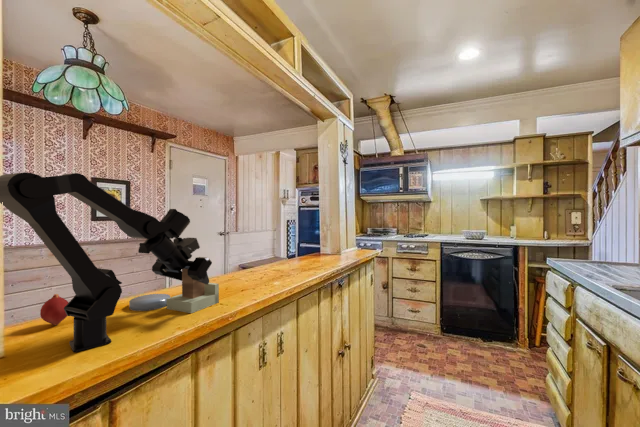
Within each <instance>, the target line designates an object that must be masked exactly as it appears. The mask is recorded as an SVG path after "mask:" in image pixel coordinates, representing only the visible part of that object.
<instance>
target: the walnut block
mask: <svg viewBox="0 0 640 427" xmlns="http://www.w3.org/2000/svg"><path fill="white" fill-rule="evenodd" d="M187 270H188V269H181V271H182V281H181V294H182V297H186V298H192V299H194V298H197V297H199V296H202V295H205V284H204V283H201V282H198V281H195V280H193V279H192V278H191V277H189V276H188V271H187Z"/></svg>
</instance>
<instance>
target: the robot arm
mask: <svg viewBox="0 0 640 427" xmlns="http://www.w3.org/2000/svg"><path fill="white" fill-rule="evenodd" d="M64 194H69V195H70V196H72V197H73V198H75V199H77V200H79V201H80V202H82V203H83V204H85V205H87V206H89V207H90V208H91V209H93V210H95V211H97V213H100V214H102V215H103V216H105V217H107V218H109V219H111V220H112V221H113V222H114V223H116V224H117V226H118V229H120V231H122V233H124V234H125V235H127V236H128V237H129V238H132V239H145V241H143V242H140V243H139V244H138V245H139V247H138V250H137V251H138V253H139V254H147V255H149V254H150V253H151V254H152V255H153V256H155V258H156V259H155V262H154V264H153V265H152V267H151V271H152V272H153V273H154V274H155V275H159V276H160V277H166V278H170V279H173V280H176V281H181V282H182V269H188V270H187V271H188V276H189V277H191V278H192V279H193V280H195V281H198V282H201V283H204V284H208V283H210V279H209V276H208V270H210V267H211V265H212V263H213V262H212V260H211V259H210V257H204V256H199V257H195V259H194V260H191V259H192V257H193V253H194V252H195V251H197V250H199V249H200V248H201V246H200V244H199V241H198V239H197V237H183V238H182V237H181V235H182V234H183V232H184V231H185V230H186V228H188V226H189V225H190V223H191V219H190V218H189V216H188V215H186V214H185V213H182V212H180V211H178V210H177V209H176V208H170V209H168V210H167V212H166V214H165V215H164V216H163V217H162V218H161V220H159V219H157V217H155V216H152V215H150V214H148V213H146V212H142V211H141V210H140V211H139V210H136V209H133V208H131V207H129V206H128V205H126V204H125V203H124V202H122V201H121V200H119V199H118V198H116V197H115V196H113V195H112V194H110V193H109V192H107V191H105V190H104V189H103V188H102V187H100V186H99V185H97V184H95V183H93V182H92V181H91V180H89V179H88V177H87V176H85V175H84V174H82V173H78V172H74V173H72V172H71V173H65V174H61V175H54V176H53V175H51V176H44V177H43V176H41V174H40V175H39V174H36V173H33V172H25V171H24V172H16V173H15V172H14V173H7V174H2V175H0V204H1V205H2V202H3V205H2V206H3V207H5V208H6V209H7V211H9V212H10V213H12V214H14V215H15V216H17V217H18V218H20V219H21V220H23V221H24V222H26V223H27V224H28V225H29V226H30V227H31V229H32V230H33V231H34V233H35V234H36V235H37V236H38V237H39V239H40V240H41V241H42V243H43V244H44V245H45V246H46V248H47V249H48V250H49V251H50V253H52V255H53V257H55V259H56V260H57V261H58V263H59V264H60V265H61V266H62V267H63V269H64V270H65V271H66V273H67V274H68V275H69V277H70V278H71V284H72V290H73V292H74V294H75V295H74V296H73V297H72V298H71V299H70V301H68V302H69V303H68V304H67V305H66V306H65V307H64V310H65V312H66V314H67V317H72V318H73V339H72V340H70V341H69V344H68V345H69V346H70V348H71V350H72V352H73V353H78V352H82V351H84V350H89V349H93V348H96V347H101V346H104V345H107V344H111V343H112V339H111V338H110V337H109V335H108V334H107V317H110V316H113V315H114V313H115V310H116V307H117V304H118V301H119V299H120V298H121V296H122V293H123V289H122V287H121V284H123V282H122V281H121V280H119V279H118V278H117V276H116V274H115V272H114V270H112V269H108V268H100V267H97V266H96V265H95V264H94V262H93V261H92V259H91V258H90V256H89V255H88V254H87V253H86V251H85V250H84V249H83V247H82V246H81V244H80V243H79V241H78V240H77V239H76V237H75V236H74V235H73V233H72V232H71V230H70V229H69V228H68V226H67V225H66V224H65V222H64V220H62V218H61V217H60V215H59V214H58V212H57V205H56V199H55V197H54V196H59V195H64ZM172 239H173V240H172Z"/></svg>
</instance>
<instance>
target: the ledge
mask: <svg viewBox="0 0 640 427" xmlns="http://www.w3.org/2000/svg"><path fill="white" fill-rule="evenodd" d="M219 284H220V283H215V282H209V283H208V284H205V295H202V296H199V297H197V298H194V299H192V298H186V297H182V293H181V294H177V295H174V296H170V298H167V299H166V306H165V308H166V310H171V311H177V312H183V313H186V314H187V313H188V314H193V313H195V312H196V313H197V312H198V311H201V310H204V309H206V308H209V307H211V306H214V305H216V304H219V302H220V299H219V298H220V294H219V293H220V291H219V290H220V287H219V286H220V285H219Z"/></svg>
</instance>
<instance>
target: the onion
mask: <svg viewBox="0 0 640 427" xmlns="http://www.w3.org/2000/svg"><path fill="white" fill-rule="evenodd" d="M69 302H70V301H68V300H67V299H65V298H64V297H61V296H60V295H59V294H58V293H54V294H53V296H52V297H51V298H49V299H47V300H46V301H45V302H44V304H43V305H41V308H40V314H39V315H40V318H41V319H42V320H43V321H44V322H46V323H48V324H51V325H52V326H57V325H59V324H60V323H61V322H62V321H64V320H65V319H66V318H67V317H68V316H67V314H66V312H65V310H64V307H65V306H66V305H67V304H68V303H69Z"/></svg>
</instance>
